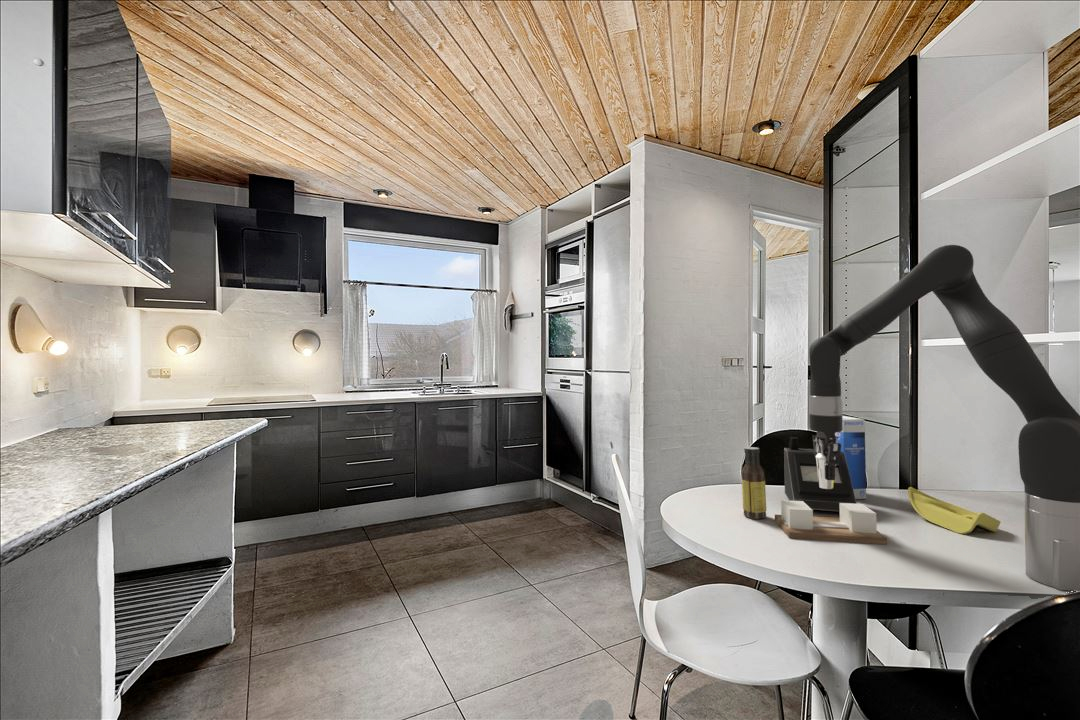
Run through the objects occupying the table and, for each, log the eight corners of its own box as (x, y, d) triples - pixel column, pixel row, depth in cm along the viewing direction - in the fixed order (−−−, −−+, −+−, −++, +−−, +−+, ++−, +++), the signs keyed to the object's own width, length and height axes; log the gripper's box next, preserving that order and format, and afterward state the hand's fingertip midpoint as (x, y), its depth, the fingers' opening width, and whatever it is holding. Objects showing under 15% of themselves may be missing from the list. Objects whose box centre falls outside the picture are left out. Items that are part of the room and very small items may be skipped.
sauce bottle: (769, 516, 138) (768, 447, 138) (761, 521, 133) (760, 450, 133) (747, 511, 142) (746, 445, 142) (738, 516, 138) (737, 448, 138)
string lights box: (867, 499, 152) (866, 419, 152) (844, 499, 152) (842, 419, 152) (840, 488, 166) (839, 414, 166) (819, 488, 165) (818, 414, 165)
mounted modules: (876, 533, 119) (876, 513, 119) (789, 528, 124) (789, 509, 124) (862, 522, 127) (862, 504, 127) (781, 518, 131) (781, 500, 131)
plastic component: (1005, 524, 123) (978, 510, 121) (993, 549, 122) (966, 536, 120) (930, 496, 142) (905, 484, 140) (919, 518, 142) (894, 506, 140)
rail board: (887, 544, 116) (886, 536, 116) (789, 537, 121) (789, 530, 121) (861, 524, 130) (861, 517, 130) (774, 519, 135) (774, 513, 135)
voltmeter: (794, 512, 141) (793, 445, 141) (784, 497, 156) (783, 436, 156) (857, 518, 135) (856, 448, 135) (841, 501, 151) (840, 438, 151)
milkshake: (829, 491, 122) (828, 453, 122) (811, 485, 127) (811, 448, 127) (842, 489, 123) (842, 451, 123) (825, 483, 128) (824, 447, 128)
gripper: (852, 416, 118) (853, 485, 118) (831, 410, 131) (832, 471, 131) (819, 415, 119) (820, 484, 119) (801, 409, 133) (802, 470, 133)
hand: (826, 477), depth 125 cm, fingers closed on milkshake, 4 cm apart
